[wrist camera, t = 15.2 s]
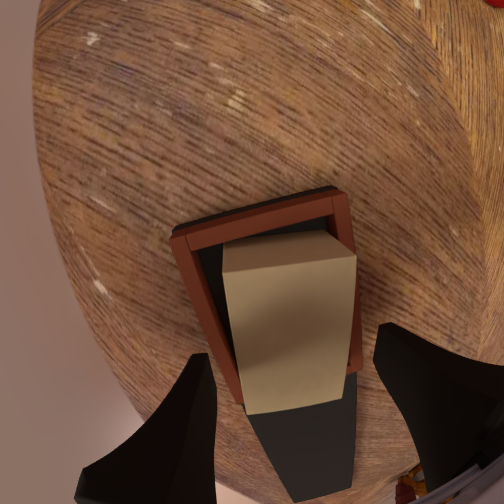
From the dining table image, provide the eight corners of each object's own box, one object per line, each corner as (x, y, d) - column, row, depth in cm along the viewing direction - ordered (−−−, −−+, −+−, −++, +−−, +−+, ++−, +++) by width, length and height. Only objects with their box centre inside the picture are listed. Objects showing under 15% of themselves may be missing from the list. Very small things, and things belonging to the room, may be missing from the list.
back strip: (293, 498, 27) (295, 511, 25) (174, 225, 14) (164, 239, 12) (349, 482, 27) (354, 495, 25) (330, 184, 14) (350, 190, 12)
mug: (436, 466, 33) (461, 514, 19) (372, 490, 31) (395, 551, 17) (465, 436, 30) (498, 488, 15) (402, 463, 28) (434, 532, 14)
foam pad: (242, 365, 16) (246, 415, 12) (223, 240, 13) (221, 272, 10) (322, 353, 16) (342, 398, 13) (324, 228, 14) (357, 255, 10)
